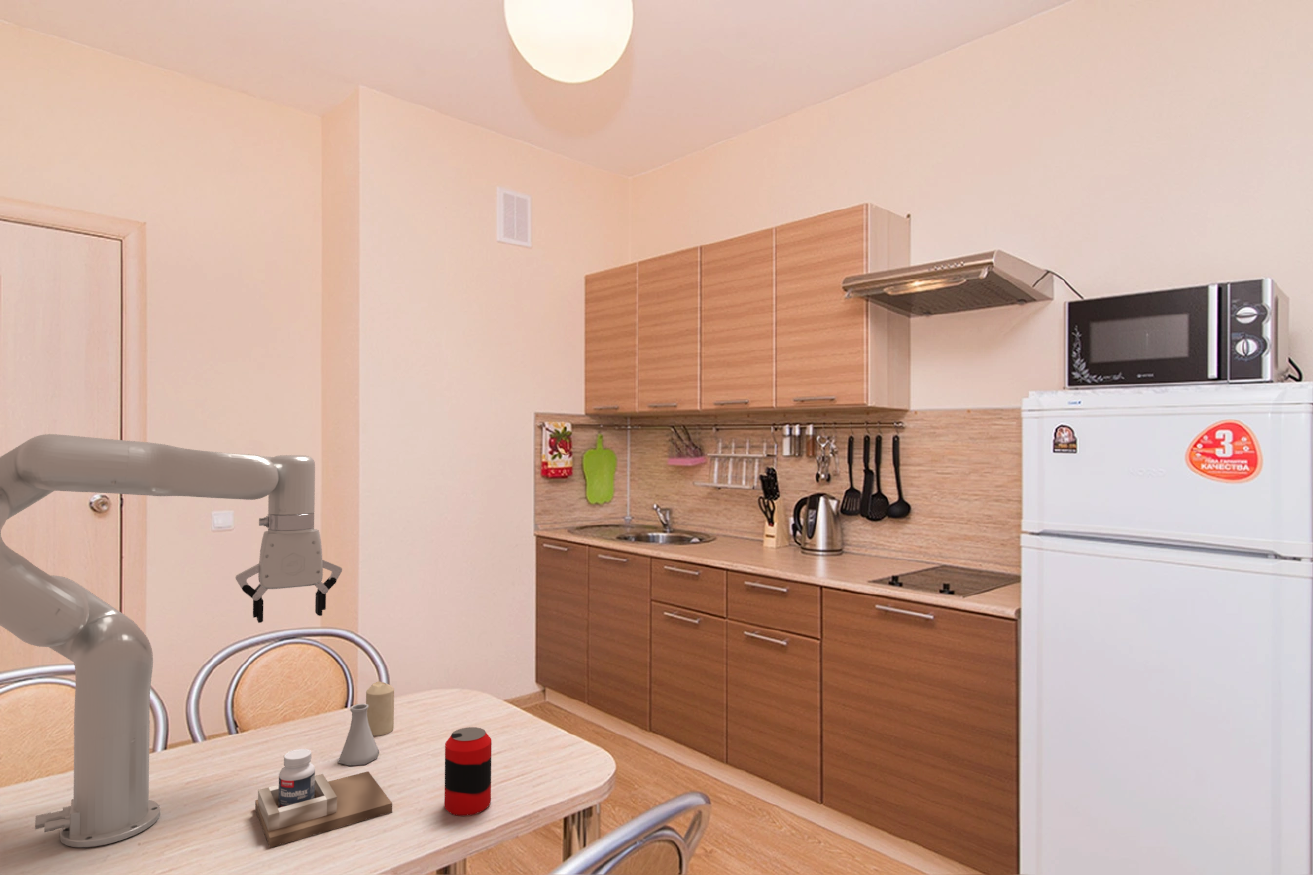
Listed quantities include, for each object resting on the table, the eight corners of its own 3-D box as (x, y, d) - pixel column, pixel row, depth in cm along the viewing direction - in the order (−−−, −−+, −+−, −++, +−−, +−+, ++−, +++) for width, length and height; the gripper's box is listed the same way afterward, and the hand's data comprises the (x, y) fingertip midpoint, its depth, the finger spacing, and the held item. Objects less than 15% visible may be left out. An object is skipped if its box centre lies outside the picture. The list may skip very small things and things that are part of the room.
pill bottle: (274, 818, 114) (275, 762, 114) (282, 802, 119) (282, 748, 119) (311, 814, 116) (312, 758, 116) (317, 798, 121) (317, 745, 121)
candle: (399, 729, 153) (399, 682, 153) (376, 738, 149) (377, 689, 149) (382, 723, 156) (383, 677, 156) (359, 732, 152) (360, 684, 152)
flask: (385, 751, 143) (386, 700, 143) (367, 767, 136) (368, 714, 136) (350, 749, 144) (351, 698, 143) (330, 765, 136) (331, 712, 136)
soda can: (441, 799, 124) (442, 728, 124) (486, 790, 127) (487, 722, 127) (447, 820, 117) (448, 746, 117) (494, 811, 120) (495, 738, 120)
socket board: (269, 847, 109) (270, 821, 109) (255, 809, 120) (255, 784, 120) (392, 811, 120) (392, 787, 120) (368, 779, 131) (368, 757, 131)
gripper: (238, 528, 124) (236, 628, 124) (346, 522, 134) (345, 616, 133) (234, 523, 130) (233, 619, 130) (338, 518, 140) (337, 607, 140)
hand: (289, 617), depth 132 cm, fingers open, 9 cm apart
